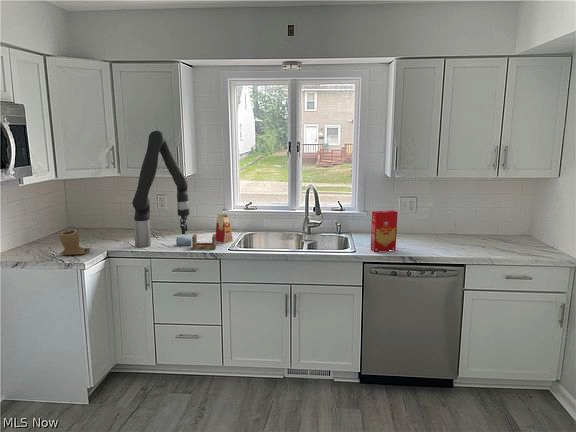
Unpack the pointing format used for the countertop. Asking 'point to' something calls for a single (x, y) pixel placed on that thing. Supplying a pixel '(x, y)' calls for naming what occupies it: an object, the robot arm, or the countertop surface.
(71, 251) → the tan hollow boot-shaped piece
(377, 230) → the food packaging
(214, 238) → the cradle
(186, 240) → the cylinder
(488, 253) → the countertop surface
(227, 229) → the milk carton
